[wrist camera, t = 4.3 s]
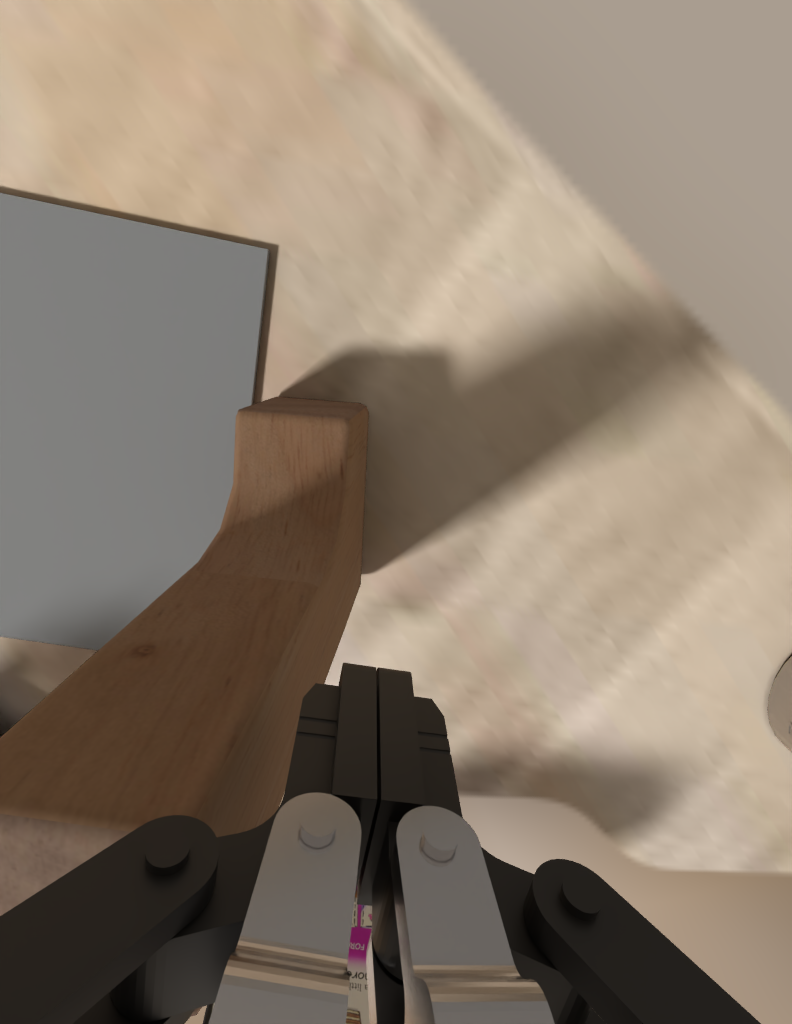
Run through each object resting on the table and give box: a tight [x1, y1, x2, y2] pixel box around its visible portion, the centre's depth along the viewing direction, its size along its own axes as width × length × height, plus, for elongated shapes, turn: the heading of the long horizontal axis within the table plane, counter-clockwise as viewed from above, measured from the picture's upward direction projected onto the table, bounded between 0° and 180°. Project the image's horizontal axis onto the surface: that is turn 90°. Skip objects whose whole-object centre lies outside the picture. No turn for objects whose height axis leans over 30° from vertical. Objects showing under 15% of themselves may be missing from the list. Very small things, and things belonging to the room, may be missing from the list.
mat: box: [0, 193, 270, 650], centre depth 24 cm, size 20×20×1 cm
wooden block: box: [0, 397, 369, 1016], centre depth 17 cm, size 9×4×18 cm, turn 176°
